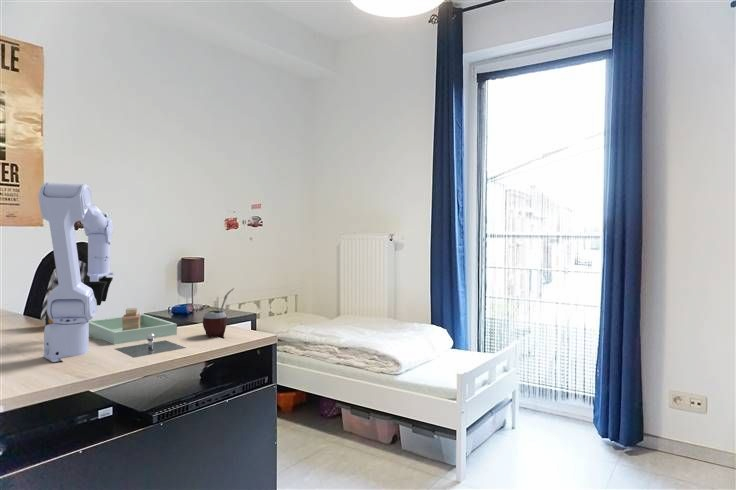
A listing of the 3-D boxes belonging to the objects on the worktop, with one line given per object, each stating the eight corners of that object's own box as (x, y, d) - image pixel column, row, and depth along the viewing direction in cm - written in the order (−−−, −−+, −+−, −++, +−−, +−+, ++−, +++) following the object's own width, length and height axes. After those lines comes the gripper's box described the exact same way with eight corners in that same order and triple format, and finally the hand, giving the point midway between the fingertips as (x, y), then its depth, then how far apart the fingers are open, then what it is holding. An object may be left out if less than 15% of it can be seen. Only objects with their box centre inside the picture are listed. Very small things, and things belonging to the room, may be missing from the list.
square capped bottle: (138, 334, 145) (138, 309, 145) (122, 335, 143) (122, 310, 143) (140, 331, 149) (140, 307, 149) (124, 332, 148) (124, 308, 147)
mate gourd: (198, 339, 143) (198, 289, 143) (212, 334, 151) (213, 286, 150) (220, 341, 141) (220, 291, 141) (233, 335, 149) (234, 288, 148)
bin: (114, 347, 132) (114, 332, 132) (85, 334, 147) (85, 321, 147) (176, 336, 146) (176, 323, 146) (144, 326, 160) (144, 314, 160)
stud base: (133, 360, 120) (133, 341, 119) (114, 351, 127) (114, 333, 127) (186, 350, 130) (186, 332, 130) (165, 343, 138) (165, 326, 138)
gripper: (109, 259, 136) (109, 306, 136) (118, 256, 150) (118, 299, 150) (81, 259, 134) (81, 307, 134) (92, 256, 147) (92, 299, 148)
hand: (99, 303), depth 142 cm, fingers open, 7 cm apart
